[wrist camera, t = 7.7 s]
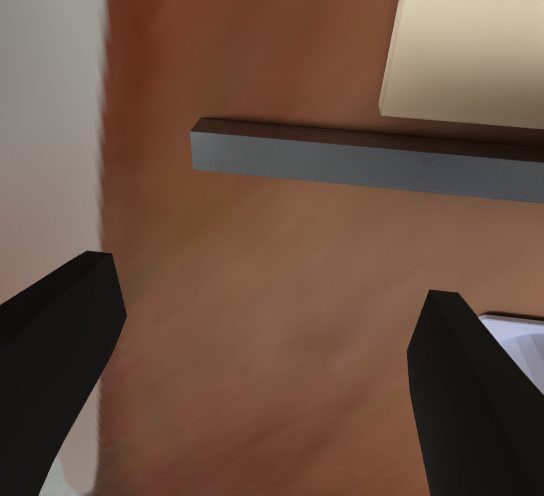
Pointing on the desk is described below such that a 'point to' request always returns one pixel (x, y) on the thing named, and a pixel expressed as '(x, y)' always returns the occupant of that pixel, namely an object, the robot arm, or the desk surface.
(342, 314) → the desk surface
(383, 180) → the grey tray
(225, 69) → the desk surface
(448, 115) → the clamp jaw
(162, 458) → the desk surface
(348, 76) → the desk surface
